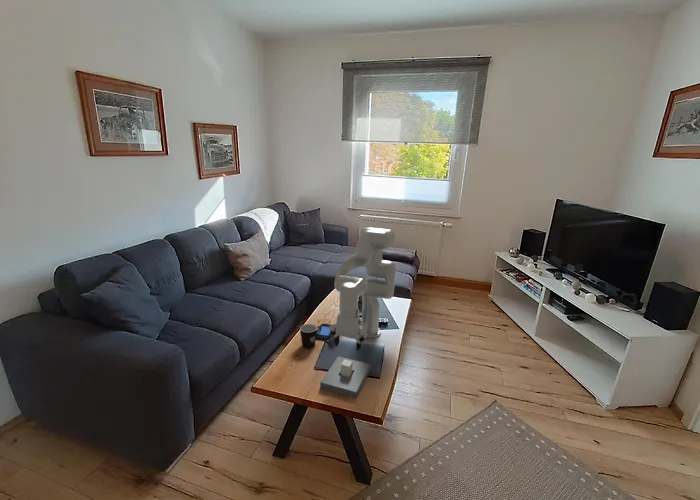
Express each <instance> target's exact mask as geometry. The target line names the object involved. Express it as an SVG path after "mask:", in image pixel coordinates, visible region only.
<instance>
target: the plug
mask: <svg viewBox="0 0 700 500" xmlns="http://www.w3.org/2000/svg"><path fill="white" fill-rule="evenodd" d="M352 369H353V361H349V360H345V359H344V361H343V362H342V364H341V376H344V377H348V378H351V376H352Z"/></svg>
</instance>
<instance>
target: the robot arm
mask: <svg viewBox="0 0 700 500" xmlns="http://www.w3.org/2000/svg"><path fill="white" fill-rule="evenodd" d="M359 233H360V234H359V237H358V240H357V243H356V246H355V250H354V253H353V255H352V256H350V257H347V259H346V260H344V261H343V262H342V263H341V264H340V265H339V267H338V270H337V272H336V276H335V279H334V289H335V290H336V291H337V292H339V306H338V307H339V309H338V311H339V312H338V313H337V317H336V321H335V323H333V324H330V326H329V329H330V331H331V334H332V336H333V338H334V339H333V340H334V341H333V342H334V346H335V347H338V346H339V344H340V337H345V338H349V339H354V340H355V341H356V347H355V351H356V352H359V350H361V349H362V342H364V341H365V340H366V339H367V338H368V339H374V338H378V337H379V336H381V335H382V334H381V333H382V330H381V328H380V327H379V324H380V323H379V322H380V307H381V305H380V304H381V303H380V301H379V299H385V300H390V299H392V298H393V296H394V293H395V283H396V269H397V268H396V263H394V262H393V261H392V260H387V259H386V260H385V259H383V252H384V251H383V250H388V249H390V248H391V247H392V246H393V244H394V243H395V237H396V235H395V232H394V230H392V229H389V228H388V229H387V228H378V227H363V228H361V230H360V232H359ZM361 267H365V274H366V276H368V277H370V278H365V277H361V276H355V275H349V274H348V275H347V273H348V272H349V271H351V270H354V269H357V268H361ZM371 277H373V278H371ZM377 278H379V279H377ZM359 297H361V298H362V299H361V300H362V301H361V304H362V305H361V311H360V310H359V308H358V305H359V304H358V303H359V302H358V300H359ZM360 315H361V317H360ZM333 328H336V330H334V329H333Z"/></svg>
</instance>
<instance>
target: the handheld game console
mask: <svg viewBox="0 0 700 500" xmlns="http://www.w3.org/2000/svg"><path fill="white" fill-rule="evenodd" d="M330 325H331V323H330V324H329V323H321V324H320V327H321V332H320V333H319V331H320V327H319V328H317V333H316V335H317V334H318V333H319V334H318V336H317V337H316V340H319V341H325V342H327V341H326V340H329V339H330V340H331V338H332V336H333V335H332V334H331V331H330V329H329V326H330ZM333 329H334V330H335V331H336V328H333ZM330 340H329V341H330Z"/></svg>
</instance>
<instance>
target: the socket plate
mask: <svg viewBox="0 0 700 500" xmlns="http://www.w3.org/2000/svg"><path fill="white" fill-rule="evenodd" d="M344 359H345V360H349V361H353V369H352V376H351V378H348V377H344V376H341V364H342V362H343V361H344ZM370 371H371V363H366V362H363V361H359V360H355V359H350V358H346V357H343V356H337V357H336V359H334V362H333V363H332V365H331V366H330V367H329V369H328V370H327V372H326V373H325V375H324V376H323V378H322V379H321V381H320V382H319V386H320V388H319V389H320V390H321V389H323V390H326V391H327V392H328V391H330V392H331V393H336V394H339V395H342V396H347V397H351V398H354V399H357V397H358V395H359V392H360V391H361V389H362V387H363V385H364V384H365V381H366V380H367V377H368V375H369V373H370Z"/></svg>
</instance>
